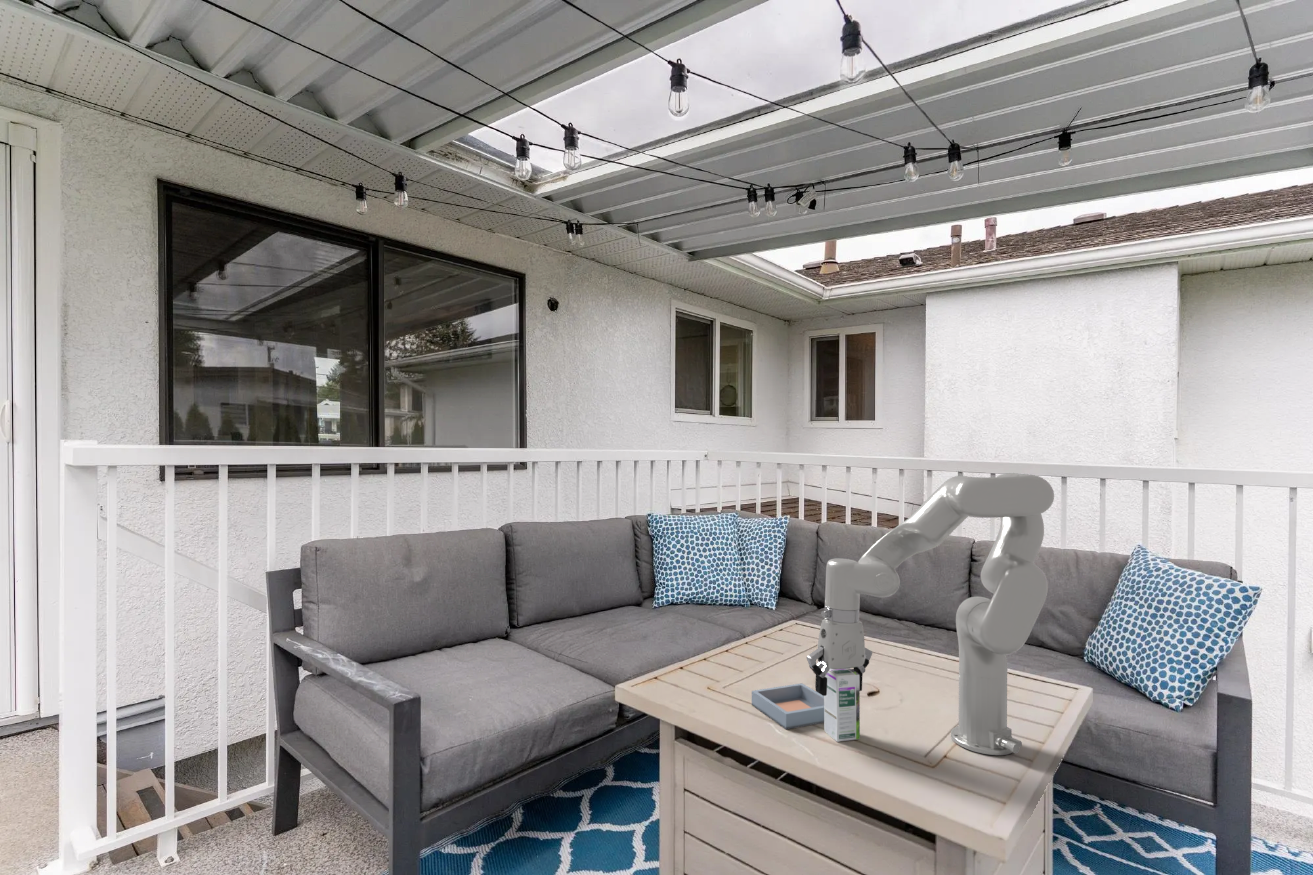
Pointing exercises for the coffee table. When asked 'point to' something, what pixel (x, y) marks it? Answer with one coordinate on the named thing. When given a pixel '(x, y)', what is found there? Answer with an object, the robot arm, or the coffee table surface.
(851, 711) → the syrup box
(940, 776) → the coffee table surface
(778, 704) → the box
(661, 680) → the coffee table surface
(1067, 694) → the coffee table surface
